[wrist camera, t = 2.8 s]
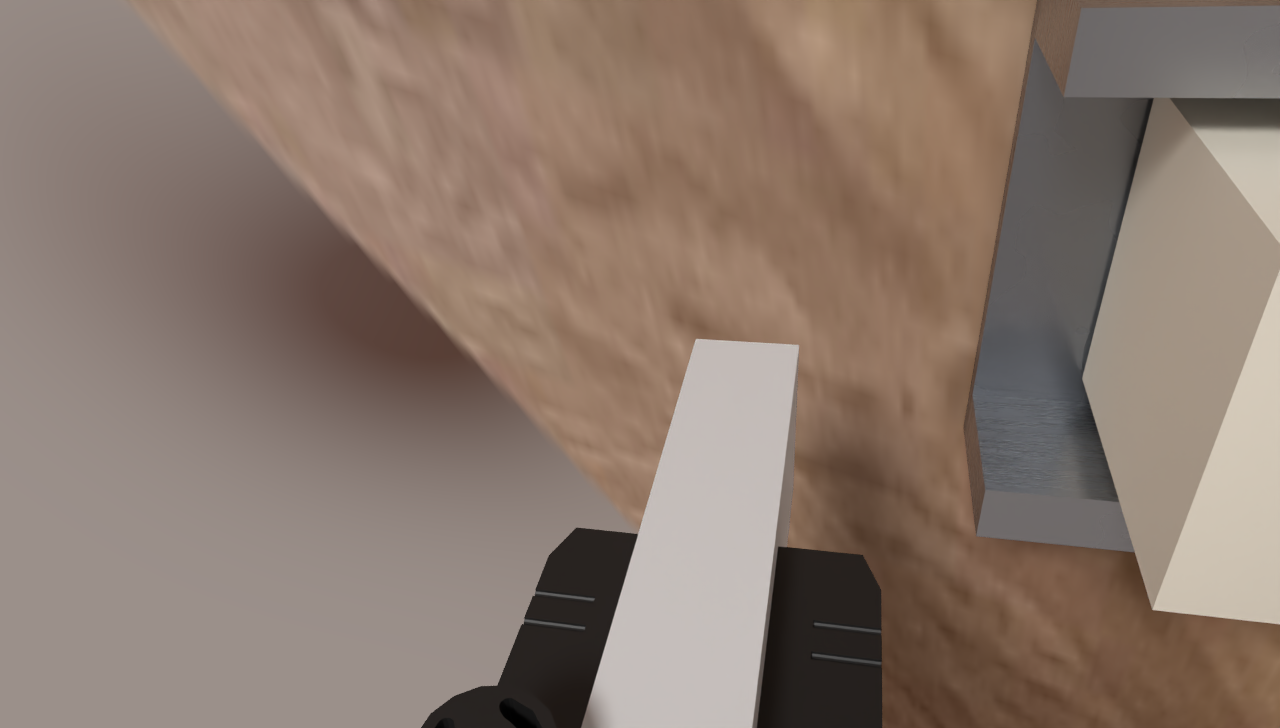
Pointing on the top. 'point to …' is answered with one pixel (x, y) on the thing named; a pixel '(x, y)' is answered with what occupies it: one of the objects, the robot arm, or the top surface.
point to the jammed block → (1197, 359)
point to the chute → (1082, 242)
